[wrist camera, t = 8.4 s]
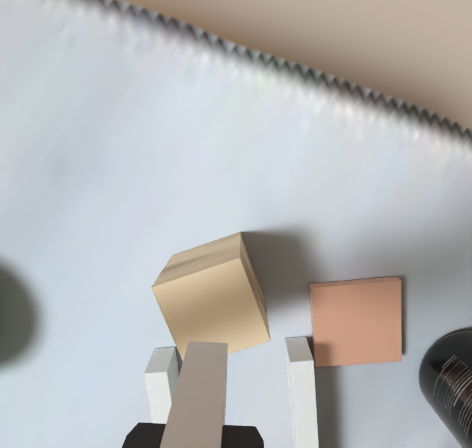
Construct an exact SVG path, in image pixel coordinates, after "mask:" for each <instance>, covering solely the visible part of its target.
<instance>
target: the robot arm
mask: <svg viewBox="0 0 472 448" xmlns="http://www.w3.org/2000/svg"><path fill="white" fill-rule="evenodd" d="M227 352H228V343H216V342H193V341H189V342H188V345H187V349H186V353H185V356H184V360H183V364H182V367H181V371H180V375H179V378H178V382H177V386H176V390H175V393H174V397H173V401H172V404H171V408H170V412H169V415H168V419H167V423H166V424H160V423H138V424H137V425H136V426H135V427H134V428H133V429H132V431H131V432H130V433H129V434H128V435H127V436H126V439H125V441H124V444H123V446H122V448H264V442H263V439H262V437H261V435H260V434H259V432H258V430H257V428H256V427H254V426H232V425H224V423H225V407H226V381H227Z"/></svg>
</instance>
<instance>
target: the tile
mask: <svg viewBox="0 0 472 448" xmlns="http://www.w3.org/2000/svg"><path fill="white" fill-rule="evenodd" d="M309 286H310V303H311V320H312V336H313V353H314V363H315V366H316V367H328V366H341V365H354V364H367V363H380V362H393V361H402V334H401V280H400V279H399V278H398V277H396V276H395V277H383V278H371V279H359V280H348V281H336V282H324V283H312V284H309Z"/></svg>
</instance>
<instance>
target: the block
mask: <svg viewBox="0 0 472 448" xmlns="http://www.w3.org/2000/svg"><path fill="white" fill-rule="evenodd" d="M151 288H152V290H153V293H154V295H155V298H156V300H157V302H158V305H159V307H160V309H161V312H162V314H163V316H164V319H165V321H166V323H167V326H168V328H169V330H170V333H171V335H172V337H173V340H174V342H175V344H176V347H177V349H178V351H179V354H180V356H181V358H182V361H183V360H184V356H185V353H186V349H187V345H188V342H189V341H193V342H216V343H228V352H227V354H230V353H233V352H236V351H239V350H242V349H245V348H249V347H252V346H255V345H258V344H261V343H265V342H268V341H271V340H270V333H269V326H268V320H267V313H266V306H265V299H264V295H263V292H262V289H261V287H260V284H259V281H258V278H257V276H256V273H255V270H254V267H253V265H252V262H251V259H250V256H249V254H248V251H247V248H246V245H245V243H244V240H243V237H242V234H241V232H238V233H235V234H232V235H230V236H227V237H224V238H221V239H218V240H215V241H212V242H209V243H206V244H203V245H201V246H198V247H195V248H192V249H189V250H186V251H183V252H180V253H177V254H174V255H172V257H171V258H170V260H169V261H168V263H167V264H166V266H165V267H164V269H163V270H162V272H161V273H160V275H159V277H158V278H157V280H156V281H155V283H154V284H153V286H152V287H151Z"/></svg>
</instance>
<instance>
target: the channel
mask: <svg viewBox="0 0 472 448" xmlns="http://www.w3.org/2000/svg"><path fill="white" fill-rule="evenodd" d="M285 349H286V362H287V375H288V388H289V401H290V414H291V427H292V441H293V448H319V445H318V428H317V411H316V394H315V377H314V360H313V357H312V354H311V351H310V348H309V345H308V342H307V339H306V337H294V338H285ZM144 376H145V382H146V388H147V394H148V400H149V406H150V412H151V418H152V423H160V424H166V423H167V419H168V415H169V412H170V408H171V404H172V401H173V397H174V393H175V390H176V386H177V382H178V378H179V370H178V363H177V356H176V349H175V347H168V348H156V349H154V352H153V354H152V356H151V359H150V361H149V363H148V366H147V368H146V370H145V372H144Z"/></svg>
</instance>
